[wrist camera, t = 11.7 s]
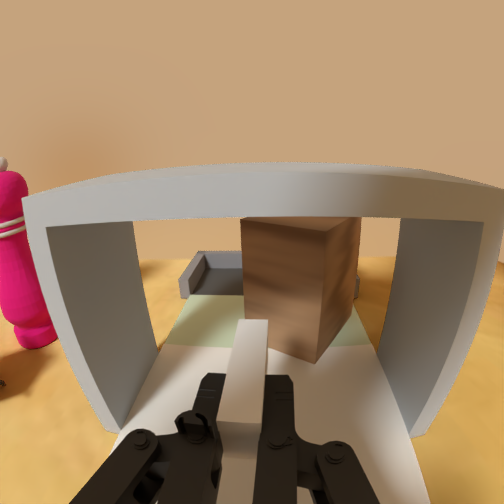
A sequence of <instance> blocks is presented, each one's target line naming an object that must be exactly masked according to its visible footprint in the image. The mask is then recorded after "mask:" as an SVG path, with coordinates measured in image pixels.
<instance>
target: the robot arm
mask: <svg viewBox="0 0 504 504" xmlns="http://www.w3.org/2000/svg"><path fill="white" fill-rule="evenodd" d="M267 370H268V320H262V319H239V320H238V324H237V329H236V333H235V338H234V342H233V347H232V351H231V356H230V360H229V365H228V369H227V374H225V373H210V372H208V373H207V374H206V375H205V376H204V377H203V378H202V379H201V382H200V385H199V390H198V392H197V395H196V398H195V401H194V404H193V408H192V410H188V411H185V412H182V413H181V414H180V415H178V416H177V417H176V419H175V421H174V422H175V425H176V427H177V430H178V432H176V433H173V434H167V435H155V433H153V432H152V431H150V430H147V429H136V430H133V431H131V432H130V433H128V434H127V435H126V436H125V438H124V439H123V440H122V441H121V442H120V444H119V445H118V446H117V447H116V449H115V450H114V451H113V452H112V453H111V455H110V456H109V457H108V458H107V459H106V461H105V462H104V463H103V464H102V465H101V466H100V468H99V469H98V470H97V471H96V472H95V474H94V475H93V476H92V477H91V478H90V480H89V481H88V482H87V483H86V484H85V485H84V487H83V488H82V489H81V490H80V491H79V492H78V494H77V495H76V496H75V497H74V498H73V499H72V501H71V502H70V503H69V504H156V502H157V501H158V502H157V504H216V501H217V496H218V490H219V485H220V479H221V473H222V463H221V461H222V455H224V457H227V458H240V459H257V461H256V472H255V482H254V491H253V501H252V504H297V486H298V487H302V488H306V489H309V492H310V495H311V498H312V501H313V504H380V502H379V500H378V498H377V496H376V494H375V492H374V490H373V488H372V486H371V484H370V482H369V480H368V478H367V476H366V474H365V472H364V470H363V468H362V466H361V464H360V462H359V460H358V458H357V456H356V454H355V452H354V450H353V449H352V447H351V446H350V445H349V444H347V443H345V442H342V441H329V442H327V443H325V444H323V445H318V444H314V443H310V442H307V441H305V440H303V439H301V438H300V437H299V436H298V434H297V432H296V430H295V413H294V386H293V381H292V380H291V378H290V377H289V375H267Z"/></svg>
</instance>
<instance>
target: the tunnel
mask: <svg viewBox="0 0 504 504" xmlns="http://www.w3.org/2000/svg"><path fill="white" fill-rule="evenodd" d="M21 199H22V206H23V212H24V218H25V224H26V229H27V234H28V239H29V244H30V248H31V253H32V257H33V261H34V265H35V269H36V273H37V276H38V280H39V283H40V287H41V290H42V293H43V296H44V299H45V302H46V305H47V308H48V311H49V314H50V317H51V320H52V322H53V325H54V328H55V330H56V333H57V335H58V338H59V340H60V343H61V345H62V348H63V350H64V352H65V354H66V357H67V359H68V361H69V363H70V366H71V368H72V370H73V372H74V374H75V376H76V378H77V380H78V382H79V384H80V386H81V388H82V390H83V392H84V394H85V396H86V397H87V399H88V401H89V403H90V405H91V406H92V408H93V410H94V412H95V413H96V415H97V417H98V419H99V420H100V422H101V424H102V425H103V427H104V428H105V430H106V431H109V432H113V433H117V434H119V435H118V437H117V440H116V442H115V444H114V446H113V448H112V450H111V453H112V452H113V451H114V450H115V449H116V447H117V446H118V445H119V444H120V442H121V441H122V440H123V439H124V438H125V436H126V435H127V434H128V433H130V432H131V431H133V430H136V429H147V430H150V431H152V432H153V433H155V435H167V434H173V433H176V432H178V430H177V427H176V425H175V422H174V421H175V419H176V417H177V416H178V415H180V414H181V413H182V412H185V411H188V410H192V408H193V404H194V401H195V398H196V395H197V392H198V390H199V385H200V382H201V379H202V378H203V377H204V376H205V375H206V374H207V373H208V372H210V373H225V374H227V369H228V365H229V360H230V356H231V351H232V348H223V347H202V346H187V345H174V344H163V346H162V348H161V350H160V352H159V353H158V349H157V345H156V341H155V337H154V333H153V329H152V325H151V321H150V316H149V312H148V307H147V303H146V298H145V293H144V288H143V283H142V278H141V272H140V267H139V261H138V255H137V249H136V243H135V236H134V229H133V221H141V220H160V219H183V218H184V219H186V218H217V217H218V218H219V217H279V216H326V217H386V218H401V221H400V231H399V240H398V248H397V255H396V262H395V269H394V275H393V281H392V287H391V292H390V298H389V303H388V308H387V313H386V317H385V322H384V326H383V331H382V335H381V339H380V343H379V347H378V351H377V354H376V352H375V349H374V347H373V345H372V344H367V345H355V346H339V347H328V348H327V349H326V351H325V352H324V353H323V355H322V356H321V357H320V359H319V360H318V361H317V362H316V364H312V363H309V362H306V361H304V360H301V359H298V358H295V357H293V356H290V355H287V354H284V353H282V352H279V351H276V350H274V349H271V348H268V370H267V375H289V377H290V378H291V380H292V381H293V386H294V413H295V430H296V432H297V434H298V436H299V437H300V438H301V439H303V440H305V441H307V442H310V443H314V444H318V445H323V444H325V443H327V442H329V441H342V442H345V443H347V444H349V445H350V446H351V447H352V449H353V450H354V452H355V454H356V456H357V458H358V460H359V462H360V464H361V466H362V468H363V470H364V472H365V474H366V476H367V478H368V480H369V482H370V484H371V486H372V488H373V490H374V492H375V494H376V496H377V498H378V500H379V502H380V504H431V503H430V499H429V496H428V492H427V489H426V486H425V482H424V479H423V476H422V473H421V470H420V466H419V463H418V460H417V457H416V454H415V451H414V448H413V446H412V443H411V440H410V438H414V437H418V436H421V435H424V434H425V433H426V431H427V430H428V428H429V426H430V425H431V423H432V421H433V420H434V418H435V417H436V415H437V413H438V411H439V410H440V408H441V406H442V404H443V403H444V401H445V399H446V397H447V395H448V393H449V391H450V390H451V388H452V386H453V384H454V382H455V380H456V378H457V375H458V373H459V371H460V369H461V367H462V365H463V363H464V360H465V358H466V356H467V353H468V351H469V349H470V346H471V344H472V341H473V339H474V336H475V334H476V331H477V328H478V326H479V323H480V320H481V317H482V314H483V311H484V308H485V305H486V302H487V299H488V295H489V292H490V288H491V285H492V281H493V277H494V273H495V269H496V265H497V261H498V256H499V251H500V246H501V241H502V236H503V229H504V189H501V188H498V187H494V186H491V185H487V184H483V183H479V182H475V181H471V180H467V179H463V178H459V177H455V176H450V175H445V174H441V173H436V172H431V171H426V170H421V169H411V168H401V167H390V166H377V165H362V164H342V163H311V162H310V163H308V162H267V163H265V162H264V163H234V164H212V165H198V166H183V167H172V168H162V169H152V170H143V171H134V172H126V173H119V174H112V175H106V176H102V177H98V178H94V179H89V180H85V181H81V182H76V183H73V184H69V185H65V186H61V187H57V188H54V189H50V190H47V191H43V192H40V193H36V194H33V195H30V196H26V197H23V198H21ZM111 453H110V455H111ZM110 455H109V456H110ZM256 461H257V459H240V458H227V457H224V455H222V461H221V463H222V473H221V479H220V485H219V490H218V496H217V501H216V504H252V501H253V491H254V482H255V472H256ZM157 502H158V501H157ZM157 502H156V504H157ZM297 504H313V501H312V498H311V495H310V492H309V489H306V488H302V487H298V486H297Z"/></svg>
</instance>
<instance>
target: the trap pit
mask: <svg viewBox="0 0 504 504" xmlns="http://www.w3.org/2000/svg"><path fill="white" fill-rule="evenodd" d="M359 282H360V278H359V277H358V275H357V276H356V284H355V292H354V298H357V297H358V290H359ZM179 287H180V294H181V298H189V296H190V295H238V296H244V292H243V271H242V251H198V252H197V254H196V255H195V256H194V258H193V259H192V261H191V262H190V264H189V265H188V267H187V268H186V269H185V271H184V272H183V274H182V275H181V277H180V278H179Z"/></svg>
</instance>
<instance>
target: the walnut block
mask: <svg viewBox="0 0 504 504" xmlns="http://www.w3.org/2000/svg"><path fill="white" fill-rule="evenodd" d="M361 218H362V217H326V216H279V217H246V218H243V219H240V223H241V246H242V247H241V248H242V271H243V292H244V313H245V319H262V320H268V347H269V348H271V349H274V350H276V351H279V352H282V353H284V354H287V355H290V356H293V357H295V358H298V359H301V360H304V361H306V362H309V363H312V364H316V362H317V361H318V360H319V359H320V357H321V356H322V355H323V353H324V352H325V351H326V349H327V348H328V347H329V345H330V344H331V343H332V341H333V340H334V339H335V337H336V336H337V334H338V333H339V332H340V330H341V329H342V327H343V326H344V325H345V323H346V322H347V320H348V319H349V318H350V316H351V314H352V307H353V300H354V292H355V284H356V276H357V266H358V256H359V245H360V232H361Z"/></svg>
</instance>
